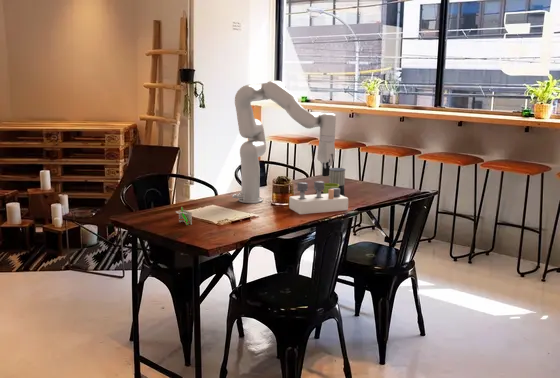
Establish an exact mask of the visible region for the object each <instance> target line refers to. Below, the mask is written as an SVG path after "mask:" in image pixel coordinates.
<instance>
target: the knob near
mask: <svg viewBox="0 0 560 378" xmlns="http://www.w3.org/2000/svg"><path fill="white" fill-rule="evenodd" d="M296 184H297V185H296V186H297V190H296V191H299V196H300V200H303V199H304V198H305V195H306V194H305V193H306V192H307V191H308V190H309V189H308V188H309V187H308V184H309V183H308V182H306V181H300V182H297V183H296Z"/></svg>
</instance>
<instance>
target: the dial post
mask: <svg viewBox="0 0 560 378" xmlns="http://www.w3.org/2000/svg"><path fill="white" fill-rule="evenodd" d="M328 199H334V189H328Z"/></svg>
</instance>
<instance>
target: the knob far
mask: <svg viewBox="0 0 560 378" xmlns="http://www.w3.org/2000/svg"><path fill="white" fill-rule="evenodd" d="M330 189H334V197H339V196H340V188H330Z"/></svg>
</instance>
